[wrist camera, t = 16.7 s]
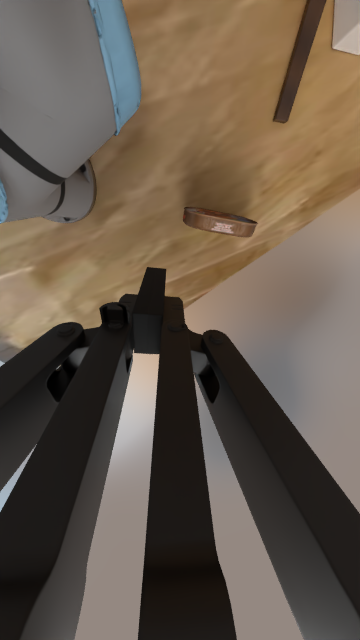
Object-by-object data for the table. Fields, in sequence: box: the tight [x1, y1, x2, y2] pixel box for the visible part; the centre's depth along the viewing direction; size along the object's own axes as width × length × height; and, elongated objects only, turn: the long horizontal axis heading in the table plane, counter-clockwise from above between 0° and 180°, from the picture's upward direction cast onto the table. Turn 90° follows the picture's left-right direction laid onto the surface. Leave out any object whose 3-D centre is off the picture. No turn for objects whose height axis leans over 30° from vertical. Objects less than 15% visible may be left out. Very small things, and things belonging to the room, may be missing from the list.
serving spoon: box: [273, 0, 326, 123], centre depth 24 cm, size 20×6×1 cm, turn 174°
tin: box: [183, 207, 258, 237], centre depth 35 cm, size 15×3×8 cm, turn 80°
